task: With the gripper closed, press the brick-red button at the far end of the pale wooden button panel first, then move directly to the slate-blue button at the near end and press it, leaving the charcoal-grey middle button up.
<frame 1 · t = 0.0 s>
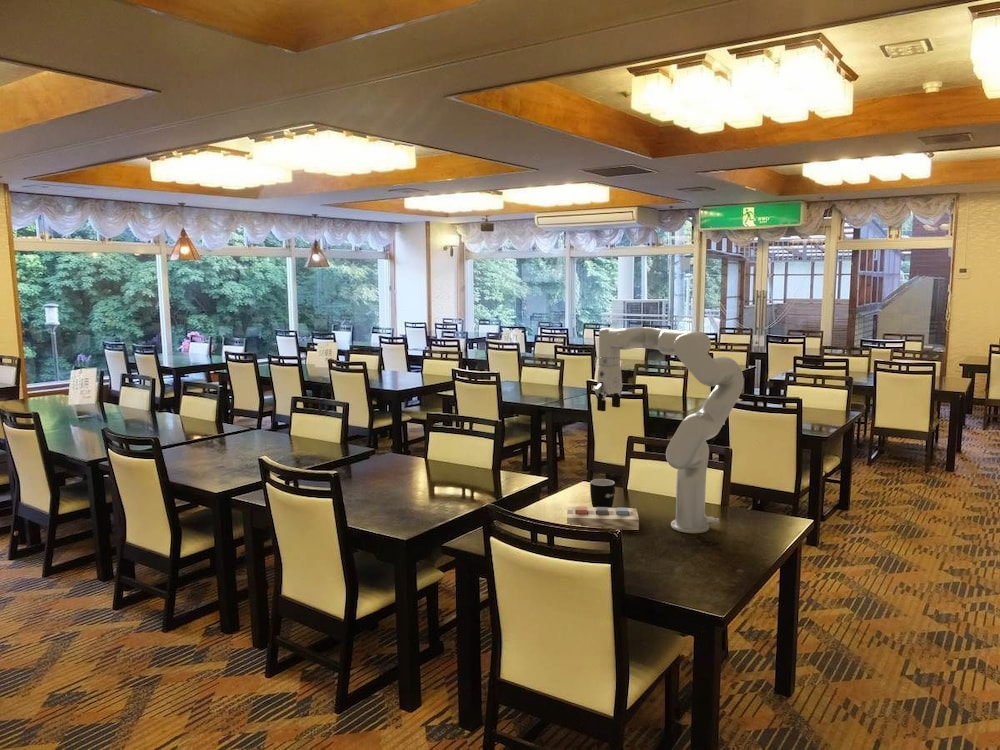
hand: (608, 408, 262), 37 cm above the table, tool pointing down, fingers open, 9 cm apart
button grey: (602, 512, 249), point 4 cm above the table, slide at 0.0 cm
button red: (581, 512, 250), point 4 cm above the table, slide at 0.0 cm
panel: (602, 524, 250), on the table
mug: (604, 508, 267), on the table
button blue: (622, 513, 248), point 4 cm above the table, slide at 0.0 cm
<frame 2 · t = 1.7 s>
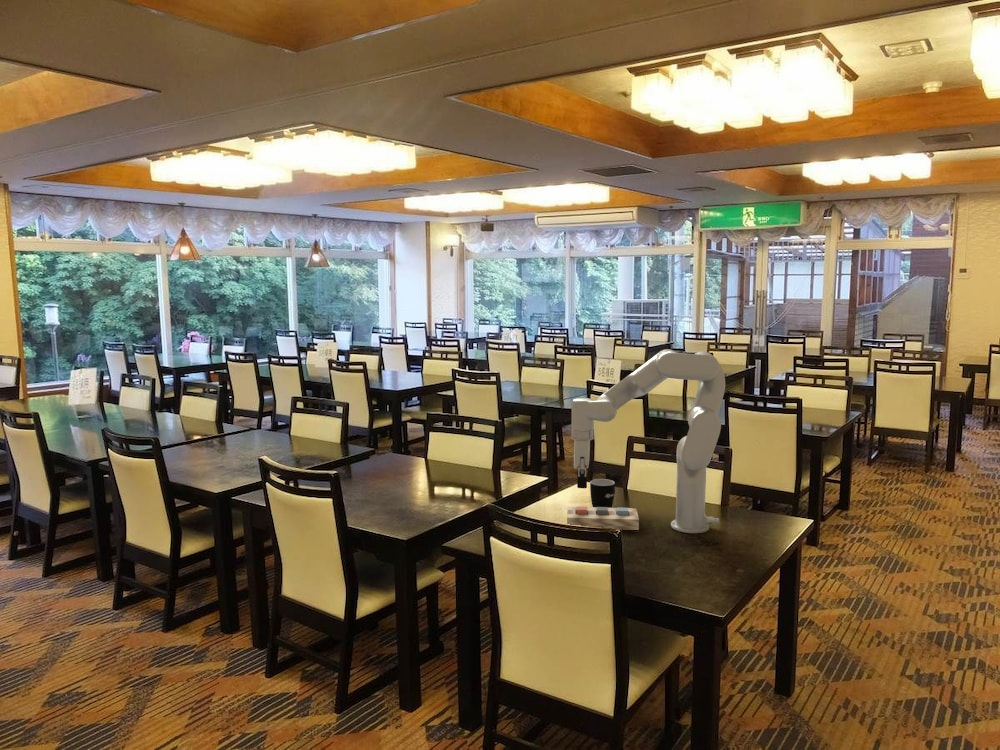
hand: (581, 484, 249), 14 cm above the table, tool pointing down, fingers open, 7 cm apart
nothing on the table moved.
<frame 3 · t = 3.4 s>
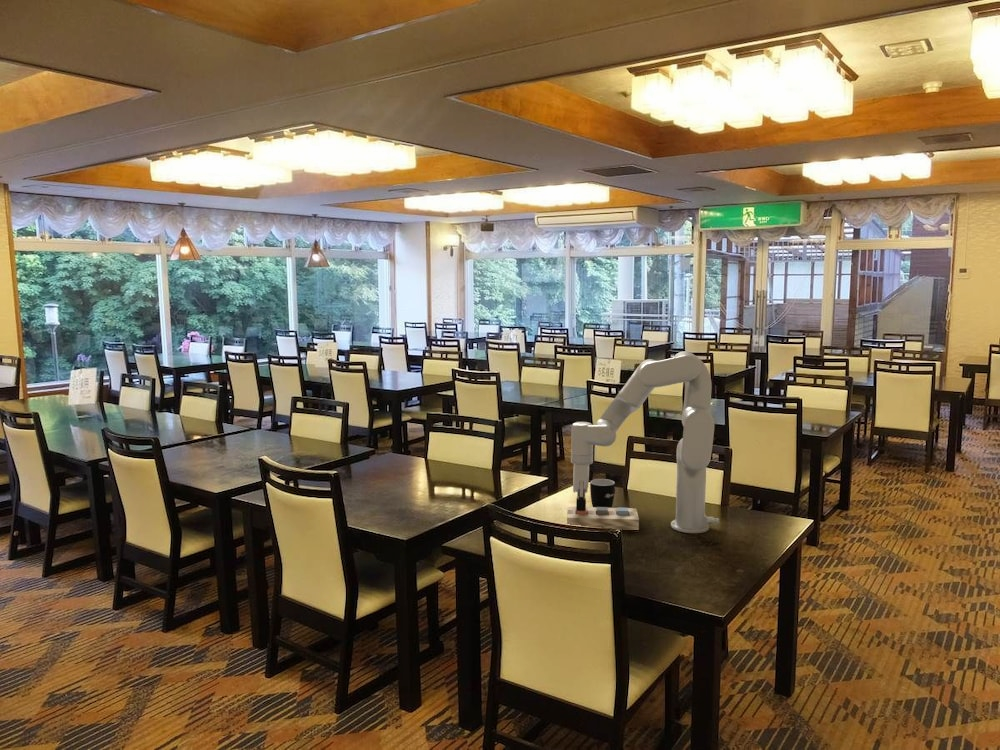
hand: (580, 509, 250), 5 cm above the table, tool pointing down, fingers closed
button red: (581, 513, 250), point 3 cm above the table, slide at 0.7 cm, touching gripper
everything else where it was.
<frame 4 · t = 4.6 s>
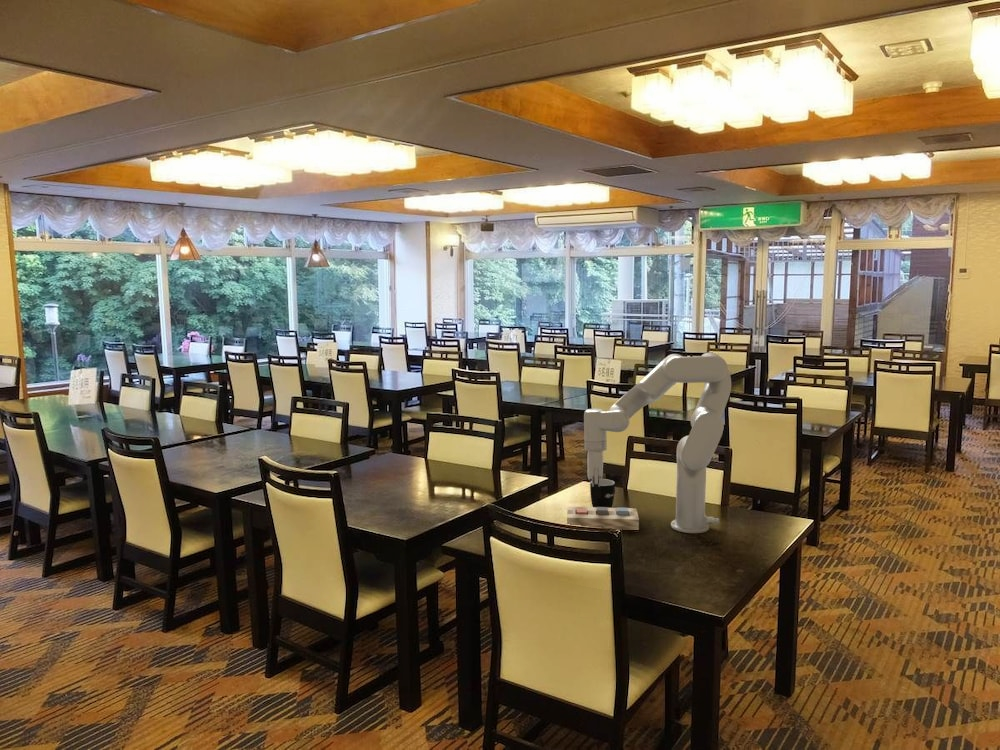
hand: (596, 497, 249), 10 cm above the table, tool pointing down, fingers closed
button red: (581, 514, 250), point 3 cm above the table, slide at 0.9 cm
everything else where it was.
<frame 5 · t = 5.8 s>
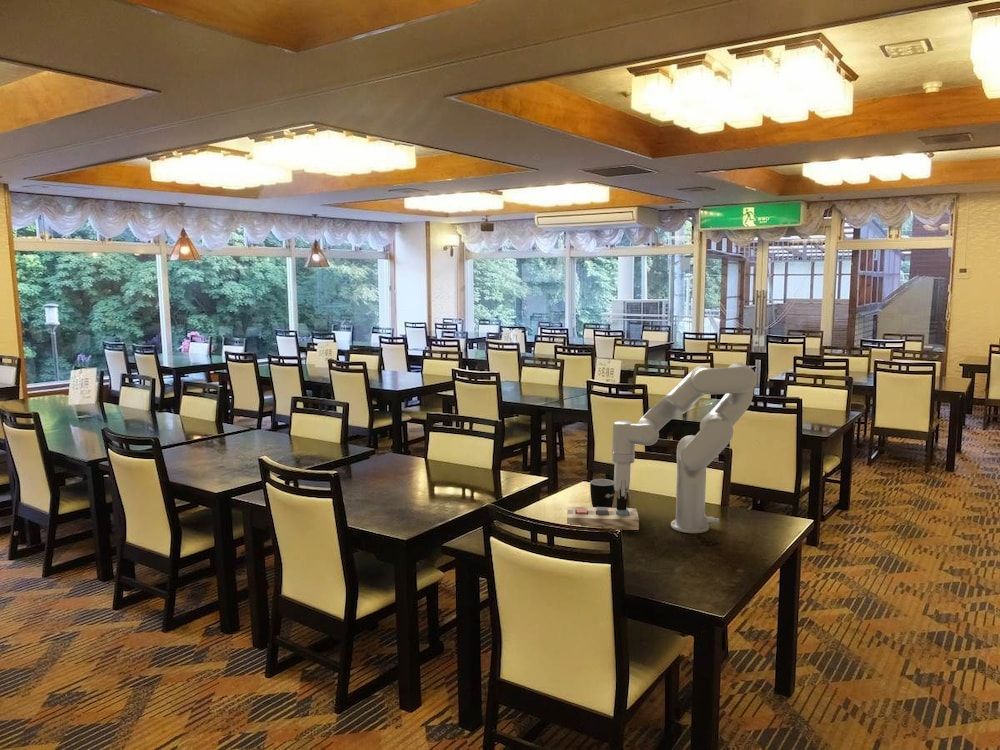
hand: (621, 509, 248), 6 cm above the table, tool pointing down, fingers closed
button blue: (622, 513, 248), point 4 cm above the table, slide at 0.0 cm, touching gripper
everything else where it was.
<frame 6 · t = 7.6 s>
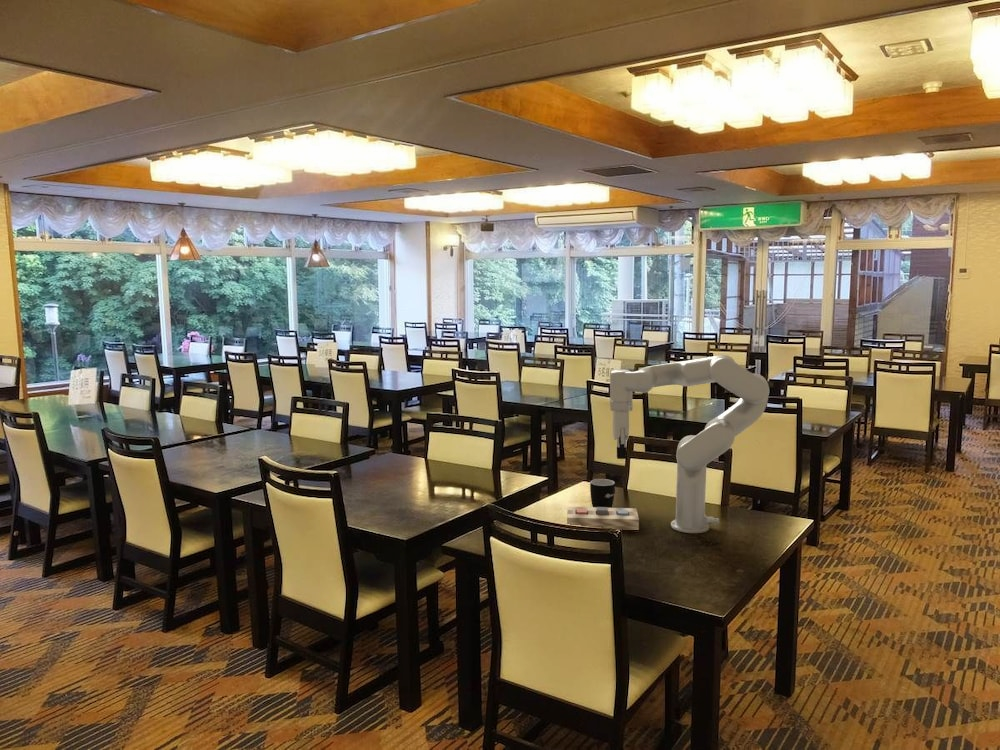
hand: (621, 458, 249), 23 cm above the table, tool pointing down, fingers closed
button blue: (622, 515, 248), point 3 cm above the table, slide at 0.9 cm
everything else where it was.
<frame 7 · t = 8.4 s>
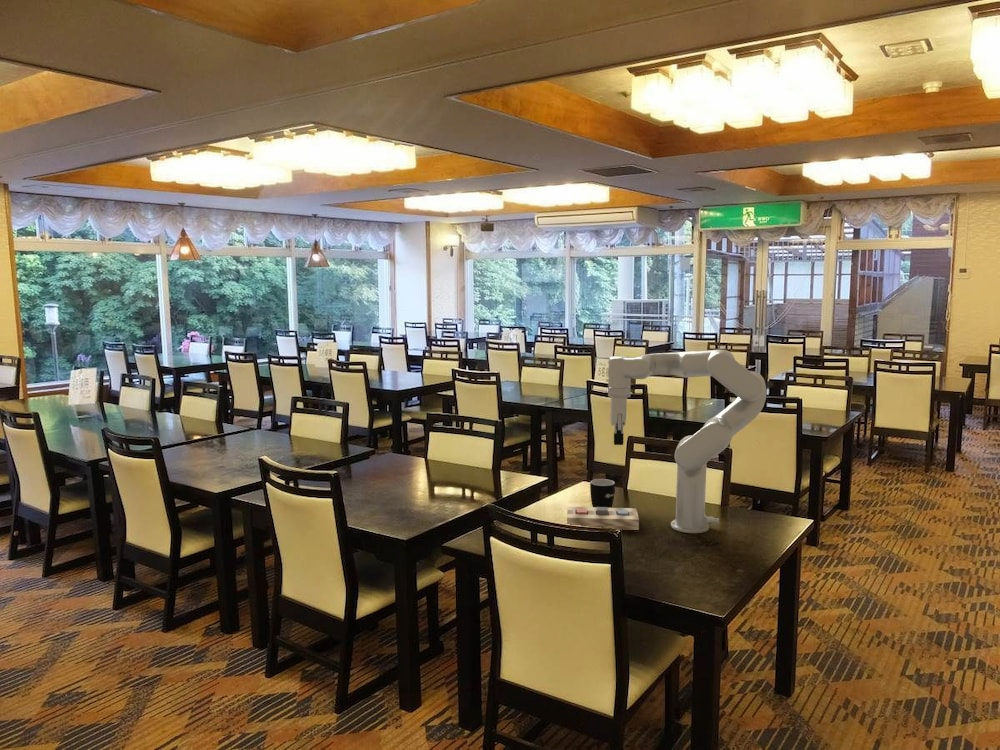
hand: (618, 444, 250), 27 cm above the table, tool pointing down, fingers closed
nothing on the table moved.
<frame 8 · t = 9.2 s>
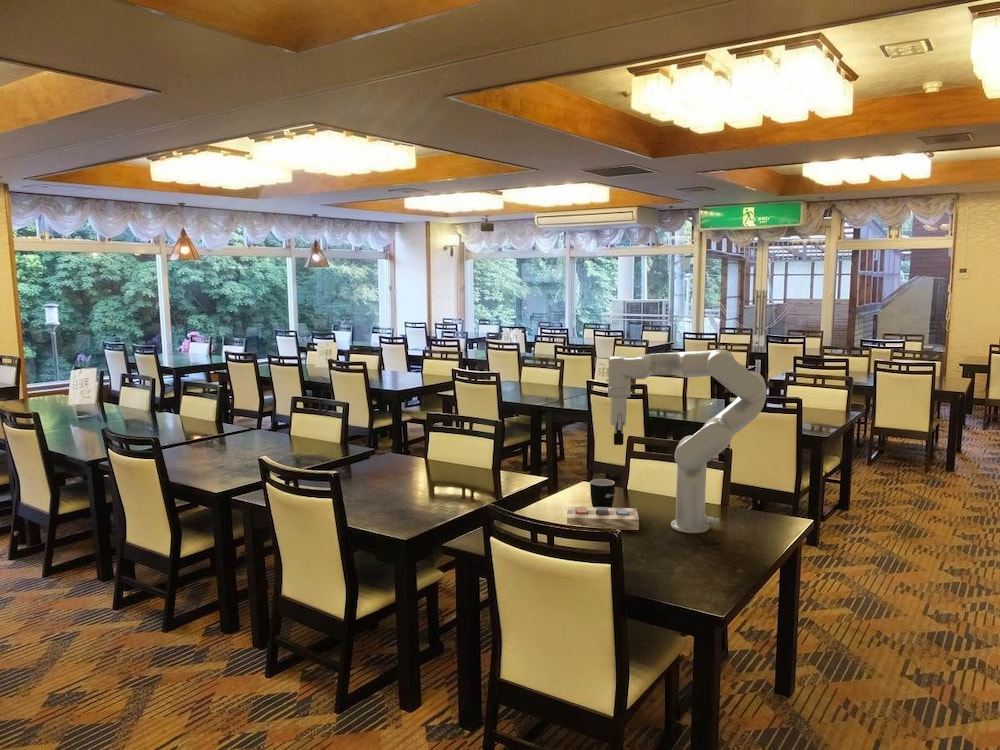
hand: (618, 444, 250), 27 cm above the table, tool pointing down, fingers closed
nothing on the table moved.
at the end: button red slide at 0.9 cm; button blue slide at 0.9 cm; button grey slide at 0.0 cm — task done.
